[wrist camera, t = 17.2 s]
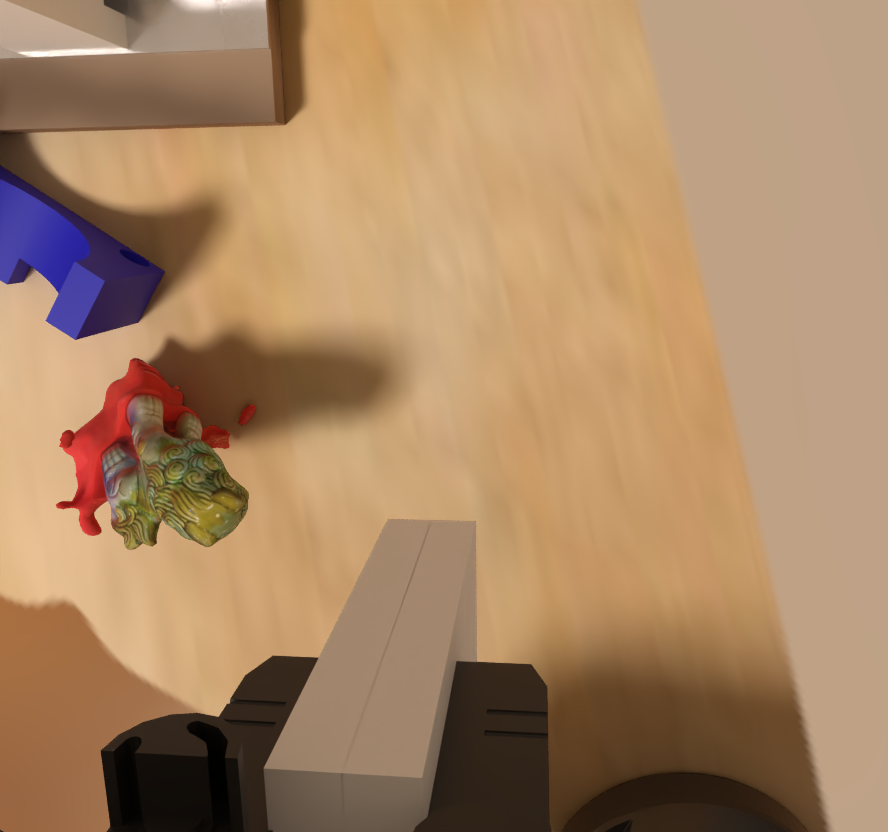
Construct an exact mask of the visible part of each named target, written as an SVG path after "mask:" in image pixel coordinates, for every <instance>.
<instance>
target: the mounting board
mask: <svg viewBox="0 0 888 832" xmlns="http://www.w3.org/2000/svg"><path fill="white" fill-rule="evenodd" d="M268 8H269V25H270V41H271V49H257V50H232V51H208V52H183V53H158V54H134V55H109V56H84V57H60V58H35V59H10V60H0V133H33V132H66V131H100V130H133V129H167V128H200V127H234V126H268V125H285V110H284V93H283V76H282V58H281V41H280V24H279V7H278V0H268Z"/></svg>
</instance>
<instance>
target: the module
mask: <svg viewBox="0 0 888 832" xmlns="http://www.w3.org/2000/svg"><path fill="white" fill-rule="evenodd" d="M0 47H1V48H5V49H8V50H11V51H14V52H17V53H21V54H34V53H58V52H82V51H106V50H128V41H127V31H126V21H125V15H124V14H121V13H119V12H117V11H115V10H113V9H111V8H109V7H107V6H105V5H104V0H0Z"/></svg>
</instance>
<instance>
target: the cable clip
mask: <svg viewBox="0 0 888 832" xmlns="http://www.w3.org/2000/svg"><path fill="white" fill-rule="evenodd" d="M31 266H32V267H33V268H34V269H36V270H37V271H38V272H39V273H41V274H42V275H43V276H44V277H45V278H46V279H47V280H48V281H49V282H50V283H51V284H52V285H53V286H54V287H55V289H56V290H57V291H58V293H59V295H58V297H57V299H56V301H55V303H54V305H53V307H52V309H51V311H50V313H49V315H48V317H47V319H46V321H47V322H48V323H50V324H51V325H53V326H54V327H56V328H58V329H59V330H61V331H62V332H64V333H65V334H67V335H69V336H70V337H72V338H73V339H75V340H77V339H80V338H84V337H88V336H91V335H95V334H98V333H102V332H106V331H109V330H113V329H117V328H120V327H124V326H127V325H131V324H135V323H138V322H139V320H140V318H141V316H142V314H143V312H144V310H145V309H146V307H147V305H148V303H149V301H150V299H151V297H152V295H153V293H154V291H155V289H156V288H157V286H158V284H159V282H160V280H161V278H162V276H163V274H164V272H165V271H163V270H162V269H160V268H159V267H157V266H156V265H154V264H153V263H151V262H149V261H148V260H146V259H145V258H143V257H142V256H140V255H139V254H137V253H136V252H134V251H132V250H131V249H129V248H128V247H126V246H125V245H123V244H122V243H120V242H118V241H117V240H115V239H114V238H112V237H111V236H109V235H108V234H106V233H105V232H103V231H101V230H100V229H98V228H97V227H95V226H94V225H92V224H91V223H89V222H87V221H86V220H84V219H83V218H81V217H80V216H78V215H77V214H75V213H74V212H72V211H70V210H69V209H67V208H66V207H64V206H63V205H61V204H60V203H58V202H56V201H55V200H53V199H52V198H50V197H49V196H47V195H46V194H44V193H43V192H41V191H39V190H38V189H36V188H35V187H33V186H32V185H30V184H29V183H27V182H25V181H24V180H22V179H21V178H19V177H18V176H16V175H15V174H13V173H12V172H10V171H8V170H7V169H5V168H4V167H2V166H1V165H0V280H1V281H3V282H4V283H6V284H14V283H21V282H24V280H25V278H26V276H27V273H28V271H29V269H30V267H31Z"/></svg>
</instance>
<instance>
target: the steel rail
mask: <svg viewBox="0 0 888 832" xmlns="http://www.w3.org/2000/svg"><path fill="white" fill-rule="evenodd" d="M104 5H105V6H107V7H109V8H111V9H113V10H115V11H117V12H119V13H121V14H124V15H125V21H126V31H127V41H128V50H106V51H82V52H58V53H34V54H21V53H17V52H14V51H11V50H8V49H5V48H1V47H0V60H10V59H35V58H60V57H84V56H109V55H134V54H158V53H183V52H208V51H232V50H257V49H271V41H270V25H269V8H268V0H104Z"/></svg>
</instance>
